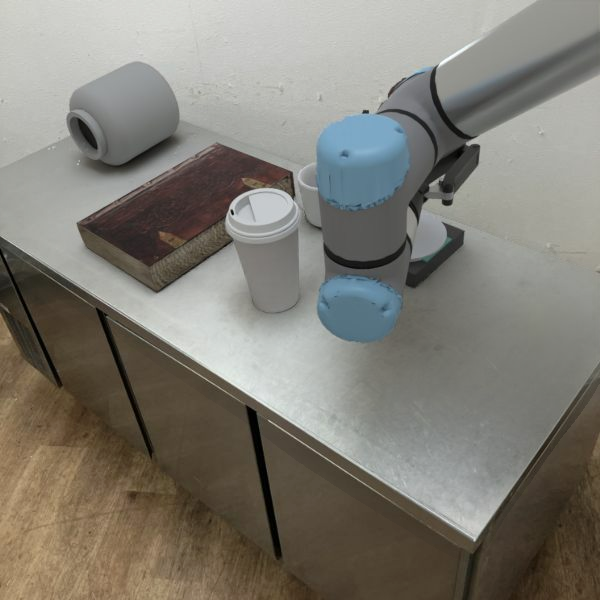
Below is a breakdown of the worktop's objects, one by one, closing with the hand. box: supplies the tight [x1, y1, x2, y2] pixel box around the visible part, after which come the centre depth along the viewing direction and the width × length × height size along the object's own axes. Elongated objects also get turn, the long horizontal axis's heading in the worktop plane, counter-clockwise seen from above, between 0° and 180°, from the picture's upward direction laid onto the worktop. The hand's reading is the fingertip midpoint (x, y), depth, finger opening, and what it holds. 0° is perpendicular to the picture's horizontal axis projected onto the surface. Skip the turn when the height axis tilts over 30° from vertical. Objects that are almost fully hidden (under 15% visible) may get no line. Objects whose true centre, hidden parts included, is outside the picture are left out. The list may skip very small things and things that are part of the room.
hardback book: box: [76, 142, 297, 293], centre depth 102 cm, size 29×19×5 cm, turn 137°
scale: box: [405, 211, 465, 289], centre depth 93 cm, size 12×12×3 cm
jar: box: [47, 60, 196, 167], centre depth 117 cm, size 19×15×25 cm
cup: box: [296, 161, 322, 228], centre depth 98 cm, size 11×8×8 cm
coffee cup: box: [225, 188, 303, 314], centre depth 84 cm, size 10×10×15 cm
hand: (410, 121), depth 84 cm, fingers closed on ice cream bowl, 11 cm apart
